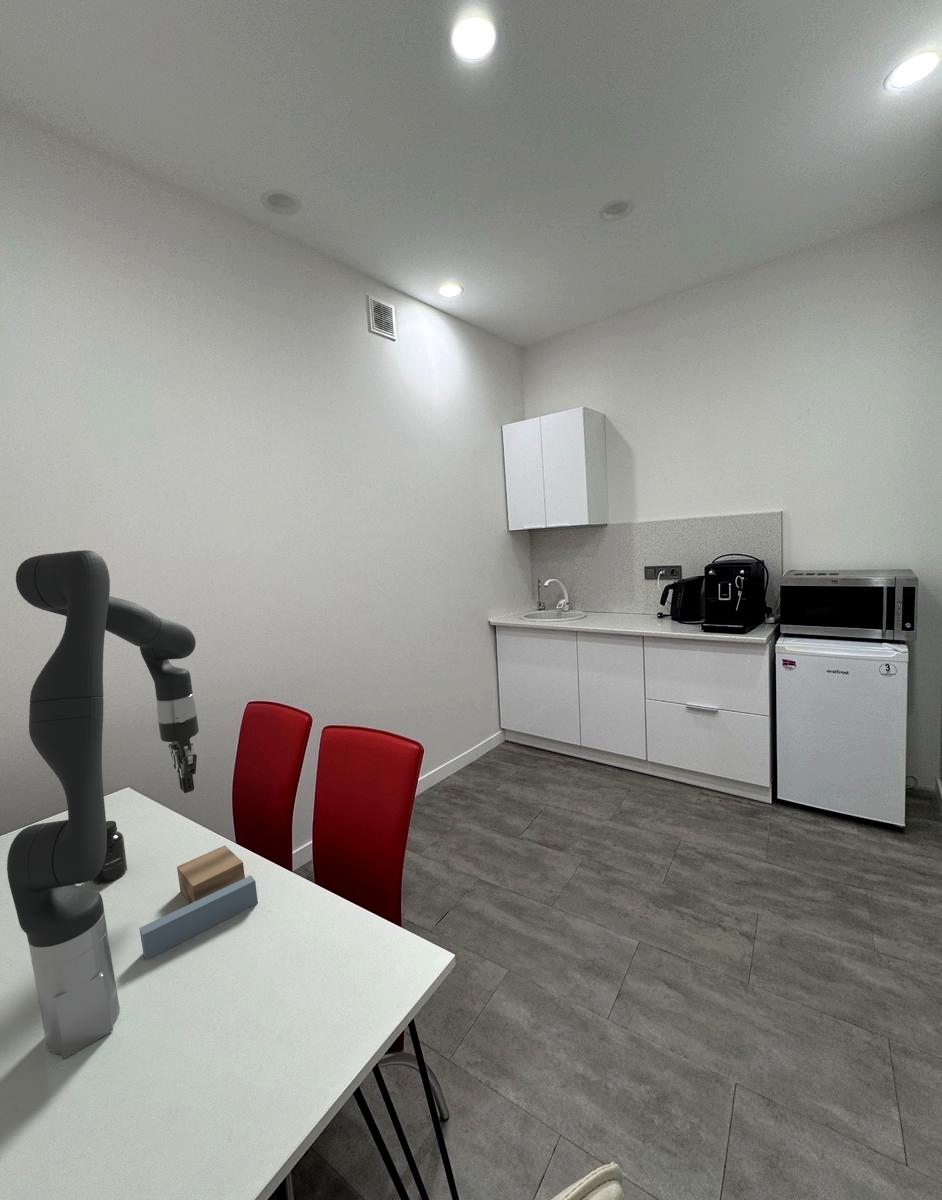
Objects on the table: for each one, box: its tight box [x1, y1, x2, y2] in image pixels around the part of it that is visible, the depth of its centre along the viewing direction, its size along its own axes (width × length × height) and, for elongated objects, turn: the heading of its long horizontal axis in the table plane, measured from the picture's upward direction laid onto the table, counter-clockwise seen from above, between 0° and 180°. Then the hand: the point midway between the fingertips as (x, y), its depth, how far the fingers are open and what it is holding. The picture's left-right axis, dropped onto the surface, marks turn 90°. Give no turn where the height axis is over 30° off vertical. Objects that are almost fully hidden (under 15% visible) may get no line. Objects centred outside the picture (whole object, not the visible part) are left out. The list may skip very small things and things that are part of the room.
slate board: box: [139, 875, 259, 961], centre depth 102 cm, size 2×20×5 cm, turn 133°
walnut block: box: [176, 845, 246, 904], centre depth 113 cm, size 10×10×6 cm
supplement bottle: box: [91, 820, 128, 885], centre depth 120 cm, size 7×7×12 cm
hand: (187, 789), depth 119 cm, fingers closed
